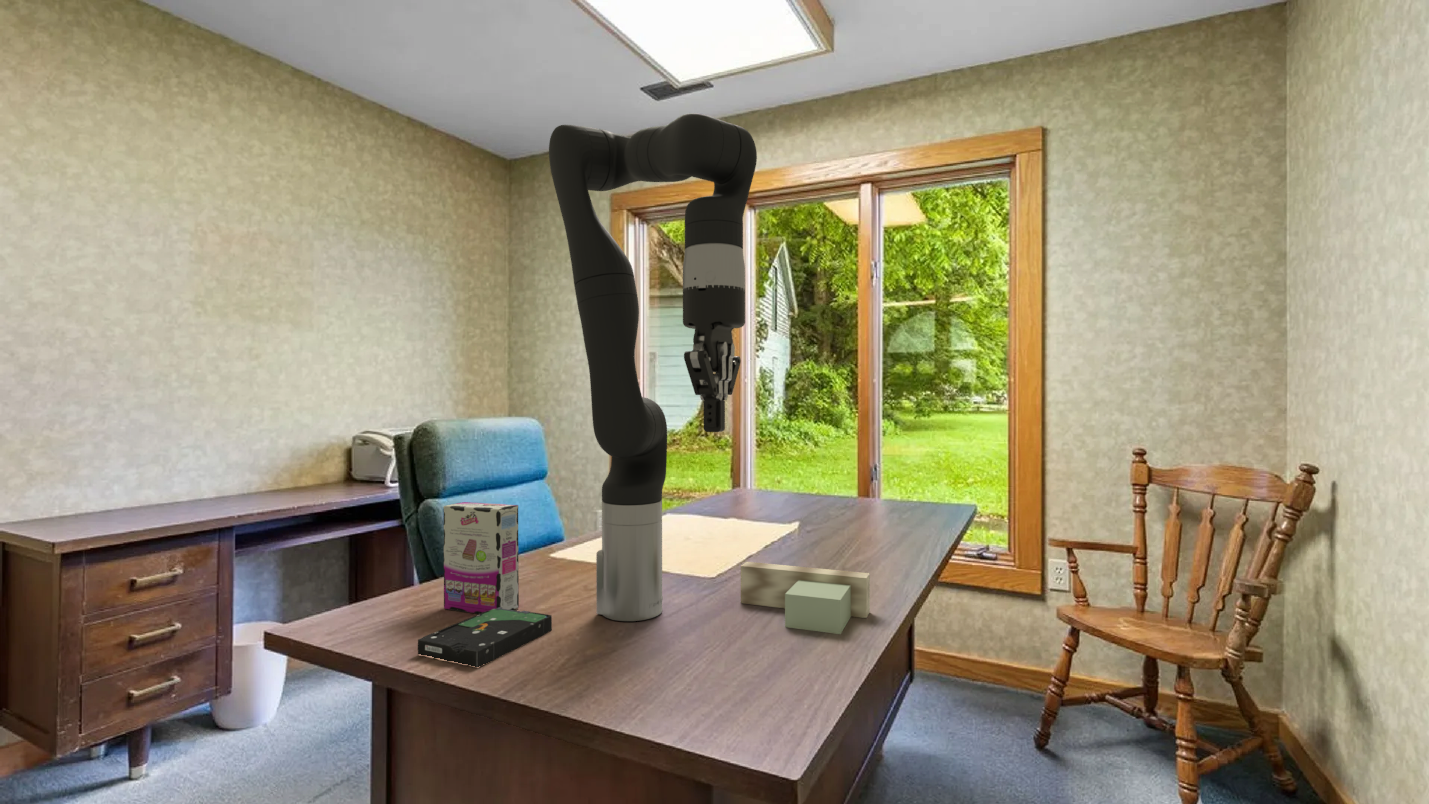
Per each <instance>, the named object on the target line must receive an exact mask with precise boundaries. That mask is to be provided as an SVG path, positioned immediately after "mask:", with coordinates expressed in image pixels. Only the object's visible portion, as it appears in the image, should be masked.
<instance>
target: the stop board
mask: <svg viewBox="0 0 1429 804" xmlns="http://www.w3.org/2000/svg"><path fill="white" fill-rule="evenodd" d="M870 575H871V574H870V573H869V572H858V571H850V570H849V571H848V570H838V569H828V568H817V567H809V566H808V567H807V566H806V567H805V566H798V565H796V566H795V565H788V564H787V565H785V564H776V563H775V564H774V563H765V562H755V561H745V562H744V563H743V564H741V565H740V604H745V605H746V604H747V605H755V606H763V607H770V608H780V609H785V593H786V592H787V591H788V590H789V589H790V588H791V587H792V586H793V585H794V584H795V583H796V582H797V581H798V580H806V581H816V582H825V583H835V584H845V585H851V617H854V618H863V619H867V618H868V616H869V615H870V612H871V611H870V603H871V601H870V599H871V597H870V596H871V595H870V592H871V590H870V586H871V584H870V581H871V580H870V578H871V577H870Z"/></svg>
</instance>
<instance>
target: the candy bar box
mask: <svg viewBox="0 0 1429 804" xmlns="http://www.w3.org/2000/svg"><path fill="white" fill-rule="evenodd" d="M442 508H443V609H445V610H449V611H457V612H463V613H470V614H476V615H478V614H481V613H482V612H485V611H490V610H492V609H497V608H499V607H502V609H507V610H515V611H517V610H518V609H519V607H520V605H519V604H520V603H519V602H520V601H519V600H520V599H519V598H520V596H519V590H520V588H519V587H520V586H519V579H520V578H519V505H518V504H507V503H506V504H505V503H486V502H470V501H469V502H468V501H467V502H466V501H464V502H455V503H451V504H447V505H443V507H442Z"/></svg>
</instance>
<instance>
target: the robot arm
mask: <svg viewBox="0 0 1429 804" xmlns="http://www.w3.org/2000/svg"><path fill="white" fill-rule="evenodd" d="M757 152H758V151H757V147H756V144H755V141H754V138H753V137H752V135H751V133H750V132H749V130H747V129H745V127H743V126H740V125H737V124H734V123H731V122H728V121H725V120H722V119H721V118H716V117H713V116H710V115H707V114H703V113H698V112H697V113H695V112H694V113H691V112H689V113H685V114H682V115H680V116H678V117H677V118H676V119H674V120H672V121H671V122H670V123H668V124H665V125H663V124H662V125H658V126H657V125H656V126H650V127H646V128H641V129H640V130H638V131H636V132H634V134H633V135H632V136H625V135H623V134H622V135H621V134H618V133H614V132H612V131H609V130H606V129H601V128H595V127H588V126H583V125H574V124H560V125H557V126H555V128H554V129H553V131H552V133H551V135H550V138H549V145H548V159H549V167H550V172H551V173H550V174H551V177H552V181H553V186H554V189H555V194H556V197H557V201H558V205H559V206H558V207H559V209H560V214H561V217H562V220H563V225H564V229H565V234H566V240H567V244H568V250H569V257H570V262H571V271H572V278H573V285H574V291H575V296H576V303H577V309H578V310H577V311H578V312H579V313H578V314H579V318H580V323H581V328H582V336H583V343H584V348H585V349H584V350H585V353H586V354H585V355H586V359H587V364H588V371H589V372H588V373H589V381H590V384H589V385H590V398H591V413H592V415H591V416H592V427H593V432H594V433H593V434H594V436H595V438H596V441H597V443H598V445H599V446H600V447H601V449H602V451H603V452H605V453H606V454H607V455H609V456H610V457H611V460H610V461H611V462H610V463H611V464H610V468H609V472H608V475H607V476H606V478H605V480H604V481H603V483H602V486H601V549H599V550H598V551H597V552H596V557H595V559H596V569H595V571H596V573H595V574H596V576H595V577H596V614H597V615H602V616H603V617H605V618H607V619H609V620H613V621H619V622H636V621H637V622H638V621H645V620H646V621H647V620H649V619H653V618H655V617H657V616H659V615H661V613H662V612H663V488H664V484H665V481H666V478H667V464H668V463H667V459H668V458H667V456H668V425H667V420H666V416H665V413H664V411H663V409H662V408H661V406H660V405H659V404H658V403H656V402H655V401H654V400H652V399H650V398H648V397H645V396H642V392H641V388H640V382H639V379H638V374H637V367H636V357H635V354H636V342H637V337H638V331H639V329H638V327H639V321H640V319H639V317H640V308H639V307H640V305H639V297H638V292H637V291H638V290H637V285H636V280H635V274H634V270H633V267H632V265H631V262H630V260H629V258H628V257H627V255H626V254H625V252H624V250H623V249H622V248H621V246H620V245H619V244H618V243H617V241H616V239H615V238H614V237H613V236H612V235H611V233H610V232H609V231H608V230H607V229H606V227H605V226H604V225H603V223H602V222H601V220H600V218H599V217H598V215H597V212H596V211H595V208H594V206H593V202H592V199H591V196H590V192H589V191H593V192H594V191H595V192H606V191H612V190H615V189H619V188H621V187H624V186H626V185H629V184H632V183H636V182H645V183H646V182H647V183H675V182H677V183H678V182H684V181H686V180H687V179H690V178H691V177H692V178H695V179H700V180H704V181H708V182H711V183H713V192H712V195H707V196H701V197H697V198H695V199H692V200H691V201H689V202H688V203H687V205H686V209H685V213H684V257H683V265H682V325H683V326H684V327H686V328H688V329H693V330H694V333H693V334H694V335H693V337H692V341H693V345H692V350H689V351H688V350H687V351H684V352H683V353H684V354H683V359H684V363H685V366H686V369H687V373H688V375H689V378H690V382H691V385H692V389H693V391H694V395H695V396H699V397H700V400H701V401H703V431H704V432H706V433H722V432H724V431H725V429H726V401H727V400H728V398H729V396H731V395H733V392H734V389H735V385H736V381H737V377H738V375H739V370H740V366H741V361H742V360H741V357H740V356H739V355H736V353H735V352H736V351H735V343H734V340H733V333H732V331H733V330H734V329H740V328H742V327H744V326H745V324H746V265H745V264H746V263H745V256H744V215H745V214H744V213H745V211H746V206H747V202H748V200H749V195H750V189H751V186H752V184H753V183H752V182H753V179H754V175H755V171H756V167H757V159H758V154H757ZM735 355H736V356H735Z"/></svg>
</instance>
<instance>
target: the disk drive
mask: <svg viewBox="0 0 1429 804" xmlns="http://www.w3.org/2000/svg"><path fill="white" fill-rule="evenodd" d="M552 617H553V616H552V614H547V613H539V612H534V611H529V610H528V611H527V610H521V611H520V610H507V609H502V607H499V608H497V609H492V610H490V611H485V612H482V613H481V614H476V615H474V616H471V617H468V618H466V619H464V620H461V621H458V622H457V623H456V622H455V623H454V624H452V625H449V626H447V627H444V628H441V629H440V630H437V631H435V632H432V633H429V634H427V635H424V636H423V637H421V638H418V639H417V655H418V654H421V655H427V656H432V657H434V658H440V659H444V660H447V661H454V662H458V663H462V664H468V665H471V666H475V667H479V666H481V665H483V664H485V665H487V664H486V663H488V662H490V661H492V662H494V661H495V660H497V659H498V658H500V657H503V656H505V655H507V654H509V653H510V652H513V651H514V650H517V649H518V648H520V647H522V646H524V645H526V644H528V643H530V642H532V641H534V640H535V639H538V638H540V637H542V636H544V635H546V634H548V633H550V632H552V628H553V626H552V625H553V623H552V622H553V621H552V619H553V618H552ZM502 655H503V656H502ZM496 658H497V659H496ZM494 659H495V660H494ZM493 660H494V661H493ZM490 663H491V662H490ZM488 664H489V663H488ZM483 666H484V665H483Z"/></svg>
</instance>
